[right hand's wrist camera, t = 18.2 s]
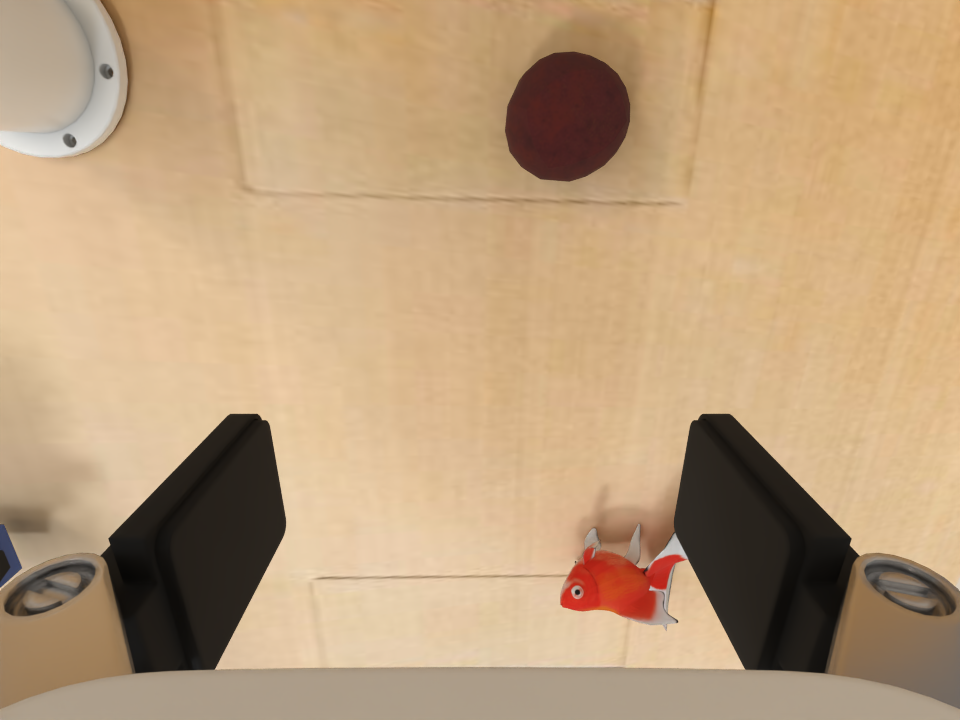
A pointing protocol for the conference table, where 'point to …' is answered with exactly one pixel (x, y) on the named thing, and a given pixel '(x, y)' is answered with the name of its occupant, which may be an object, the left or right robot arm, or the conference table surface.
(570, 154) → the potato
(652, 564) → the fish
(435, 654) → the conference table surface
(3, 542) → the brick
